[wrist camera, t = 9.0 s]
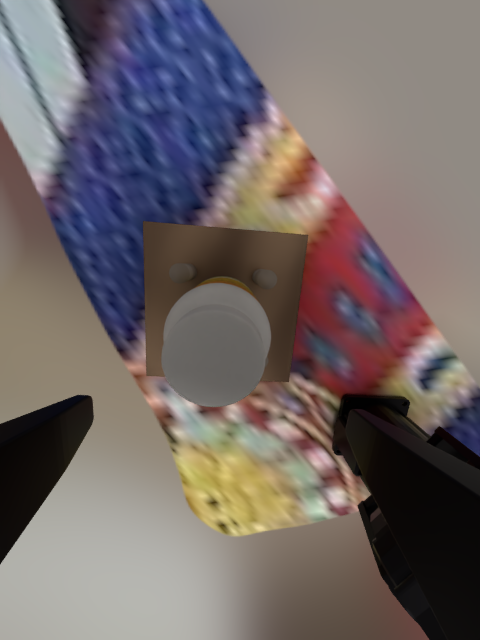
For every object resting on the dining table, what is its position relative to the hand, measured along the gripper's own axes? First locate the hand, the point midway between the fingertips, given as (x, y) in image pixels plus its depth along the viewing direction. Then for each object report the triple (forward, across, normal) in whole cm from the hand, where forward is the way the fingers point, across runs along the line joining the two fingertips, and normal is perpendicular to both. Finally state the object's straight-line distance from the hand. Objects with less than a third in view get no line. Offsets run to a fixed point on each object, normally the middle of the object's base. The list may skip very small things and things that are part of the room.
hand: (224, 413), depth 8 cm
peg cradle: (+12, 0, -2) cm, 12 cm away
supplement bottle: (+11, 0, -2) cm, 11 cm away
